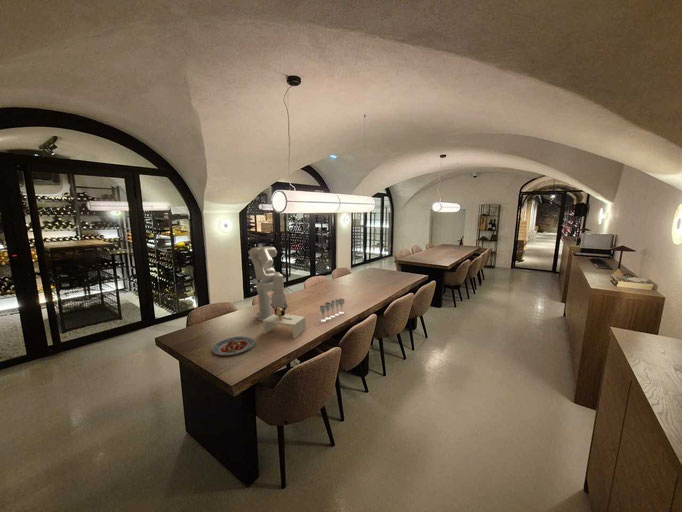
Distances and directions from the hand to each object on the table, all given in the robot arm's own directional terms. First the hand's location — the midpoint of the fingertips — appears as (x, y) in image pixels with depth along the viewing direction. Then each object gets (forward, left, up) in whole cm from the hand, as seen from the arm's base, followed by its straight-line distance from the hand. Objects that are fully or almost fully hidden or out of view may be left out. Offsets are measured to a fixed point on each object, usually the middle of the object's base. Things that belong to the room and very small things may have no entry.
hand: (279, 314), depth 209 cm
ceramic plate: (-14, -33, -13) cm, 38 cm away
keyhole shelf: (+4, 0, -12) cm, 13 cm away
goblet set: (+25, +40, -13) cm, 49 cm away
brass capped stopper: (0, 0, -6) cm, 6 cm away
